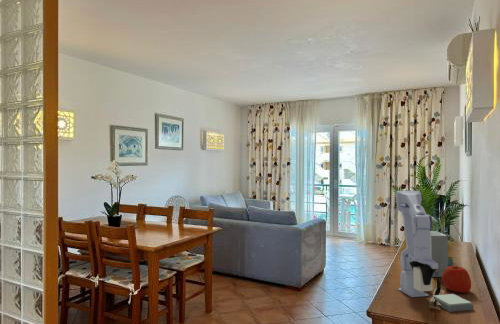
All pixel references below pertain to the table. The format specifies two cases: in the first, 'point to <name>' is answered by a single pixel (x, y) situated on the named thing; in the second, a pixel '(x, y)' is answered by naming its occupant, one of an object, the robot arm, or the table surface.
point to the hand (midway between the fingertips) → (422, 282)
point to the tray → (453, 302)
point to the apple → (456, 279)
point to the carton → (420, 281)
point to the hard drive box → (439, 251)
